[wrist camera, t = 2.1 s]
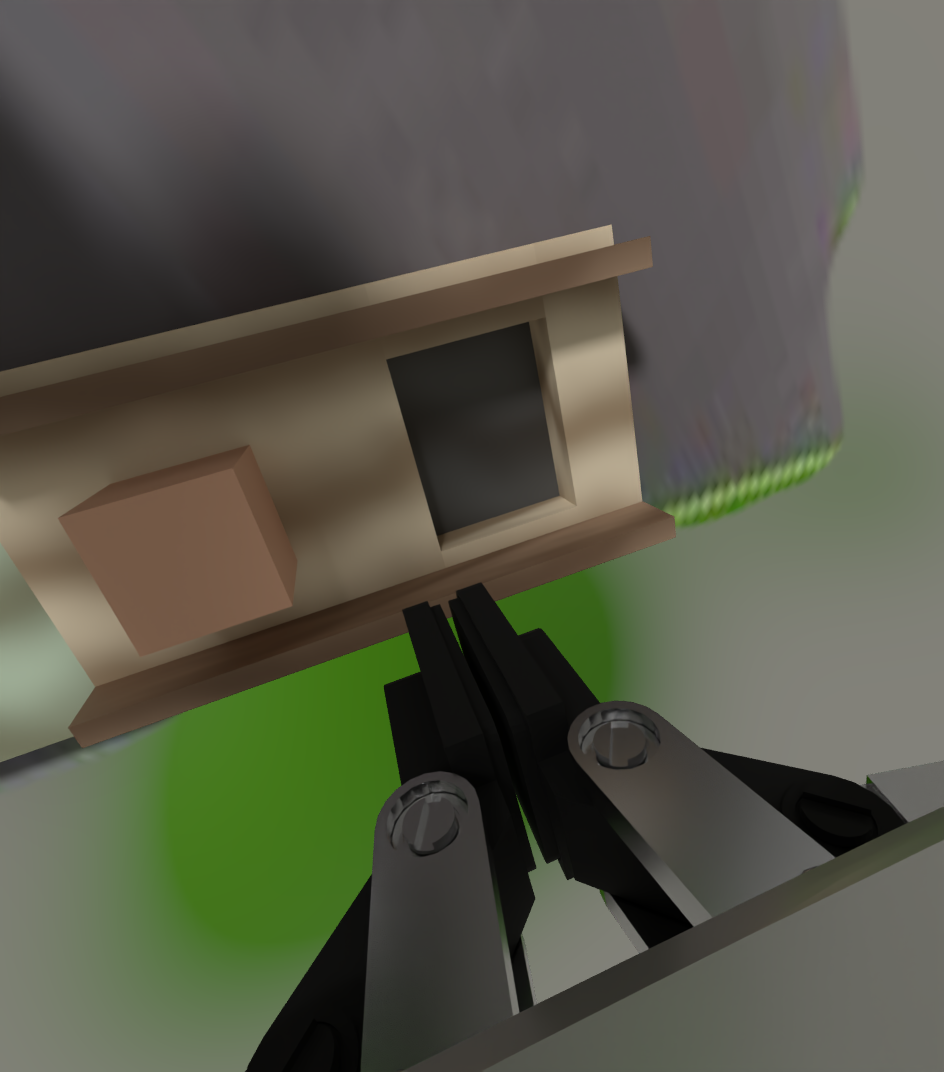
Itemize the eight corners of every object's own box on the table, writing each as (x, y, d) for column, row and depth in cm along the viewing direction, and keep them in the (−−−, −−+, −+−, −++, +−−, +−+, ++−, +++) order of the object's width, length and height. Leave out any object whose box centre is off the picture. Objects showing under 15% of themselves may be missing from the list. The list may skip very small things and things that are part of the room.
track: (-335, 457, 20) (-546, 493, 15) (586, 235, 27) (647, 209, 22) (-69, 760, 27) (-158, 855, 22) (623, 522, 33) (677, 553, 28)
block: (110, 483, 23) (57, 518, 18) (249, 444, 24) (232, 467, 19) (173, 600, 25) (140, 657, 20) (297, 560, 26) (292, 606, 21)
